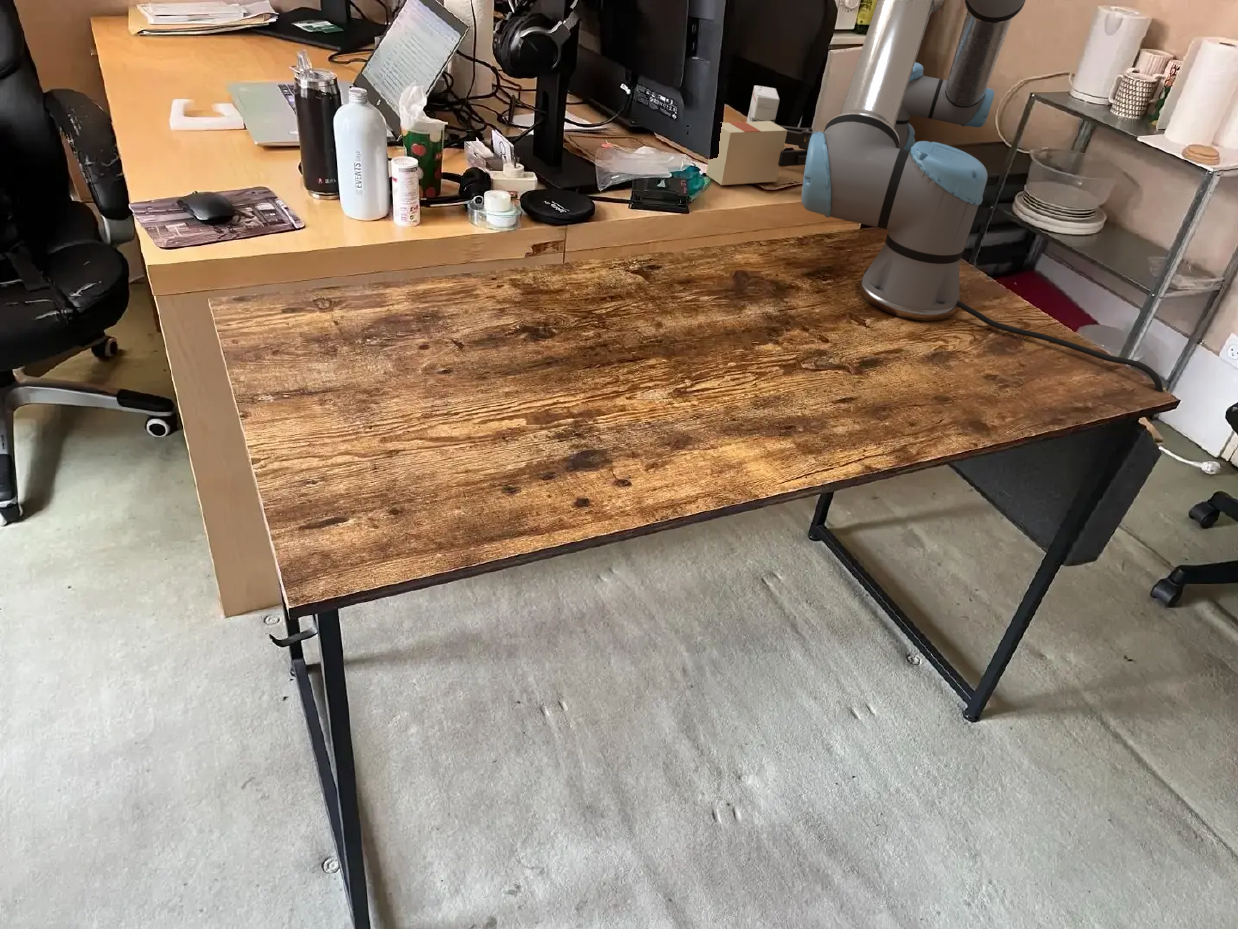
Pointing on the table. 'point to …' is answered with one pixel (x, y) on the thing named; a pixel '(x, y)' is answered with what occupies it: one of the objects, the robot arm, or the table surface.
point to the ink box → (763, 104)
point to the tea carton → (747, 153)
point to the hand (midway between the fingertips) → (761, 147)
